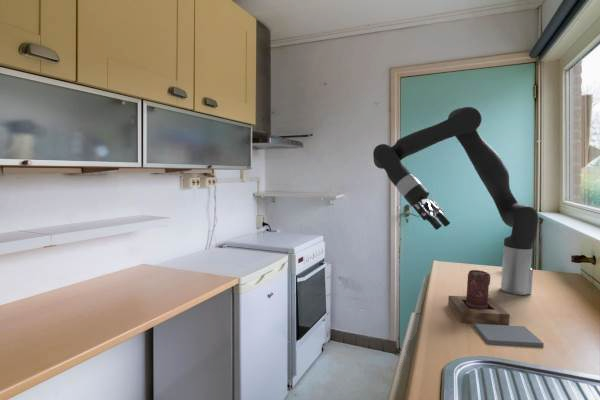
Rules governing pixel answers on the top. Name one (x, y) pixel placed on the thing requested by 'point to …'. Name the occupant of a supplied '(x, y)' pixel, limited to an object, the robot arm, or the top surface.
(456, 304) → the box
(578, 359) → the top surface
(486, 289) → the can
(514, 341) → the mat
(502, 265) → the robot arm
